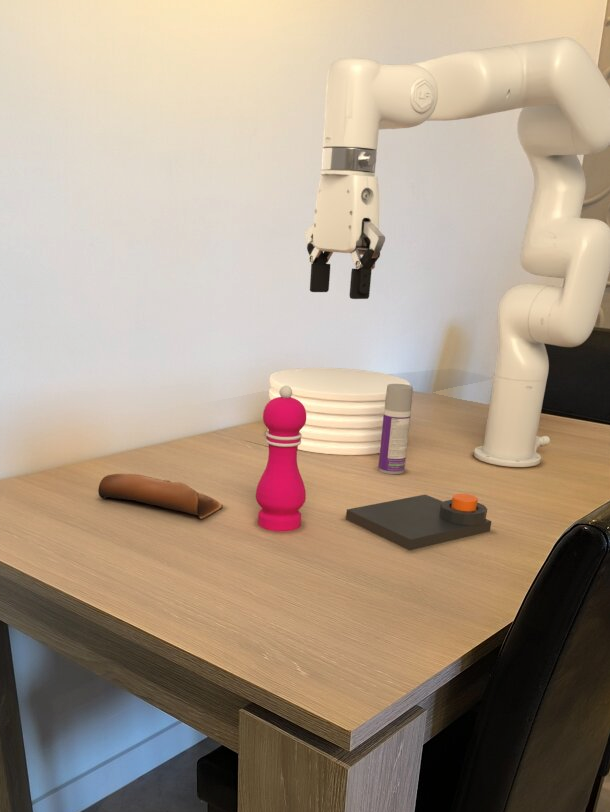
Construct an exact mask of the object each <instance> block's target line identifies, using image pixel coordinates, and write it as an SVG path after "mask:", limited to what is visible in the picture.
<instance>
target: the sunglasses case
mask: <svg viewBox="0 0 610 812" xmlns="http://www.w3.org/2000/svg"><path fill="white" fill-rule="evenodd" d="M97 492H98V496H99V497H100V498H101V499H105V498H110V499H111V498H112V499H119V500H121V499H123V500H126V501H128V500H129V501H136V502H139V503H143V504H147V505H152V506H159V507H161V508H164V509H170V510H175V511H178V512H183V513H187V514H190V515H196V516H197V518H199V519H200V520H203V519H206V518H208V517H211V516H212V515H214V514H215V513H216V512H218V511H220V510H221V509H222V508H223V504H222V503H221V502H219V501H218V500H216V499H215V498H213V497H211V496H209V495H206V494H204V493H201V492H197V491H196V490H195V489H194V488H192V487H190V486H189V485H187V484H186V483H183V482H180V481H171V480H169V479H160V478H156V477H151V476H148V475H144V474H138V473H114V474H113V473H112V474H107V475H105V476H104V477H103V478H102V479H101V480H100V482H99V484H98V490H97Z"/></svg>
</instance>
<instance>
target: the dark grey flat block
mask: <svg viewBox="0 0 610 812" xmlns="http://www.w3.org/2000/svg"><path fill="white" fill-rule="evenodd" d="M451 505H452V499H448V500H444V501H443V500H440V499H438V498H435V497H432V496H431V495H428V494H420V495H415V496H410V497H405V498H400V499H399V498H398V499H394V500H388V501H384V502H378V503H374V504H368V505H367V504H366V505H363V506H358V507H352V508H347V509H346V513H345V521H347V522H349V523H352V524H353V525H356V526H358V527H360V528H362V529H364V530H366V531H369V532H370V533H372V534H374V535H376V536H377V537H381V538H383V539H384V540H387V541H389V542H390V543H392V544H395V545H397V546H399V547H401V548H403V549H405V550H407V551H413V550H418V549H421V548H426V547H432V546H434V545H439V544H442V543H447V542H451V541H455V540H460V539H464V538H468V537H473V536H477V535H482V534H485V533H490V532H491V527H492V520H490V519H487V514H488V508H487V507H486V506H485V504H482V503H480V502H477V508H476V511H460V510H456V509H454V508H451Z"/></svg>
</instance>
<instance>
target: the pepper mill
mask: <svg viewBox="0 0 610 812" xmlns="http://www.w3.org/2000/svg"><path fill="white" fill-rule="evenodd" d="M279 394H280V396H281V397H277V398H274V399H272V400H271V399H270V400H271V401H270V400H269V401H268V402H267V403H266V405H265V406H264V408H263V413H262V421H263V424H264V426H265V427H266V428H267V431H266V432H265V436H266V438H265V442H266V444H267V445H268V457H267V462H266V466H265V468H264V471H263V473H262V475H261V477H260V479H259V481H258V483H257V486H256V490H255V500H256V503H257V505H258V506H259V508H261V509H260V510H259V511H258V515H257V524H258V526H259V527H260V528H262V529H265V530H268V531H272V532H291V531H295V530H298V529H299V528H300V527H301V525H302V513H301V511H299V510H300V509H301V508H302V507H304V504H305V503H306V500H307V495H306V492H307V491H306V487H305V483H304V480H303V478H302V475H301V473H300V469H299V466H298V445H300V444H301V437H302V434H301V433H300V432H299V431H300V430H301V429H302V428H303V426H304V425H305V423H306V410H305V408H304V406H303V404H302V403H301V402H300V401H298V400H297V399H295V398H291V396H292V389H291V388H290V387H289V386H283V387H281V389H280V391H279ZM268 430H269V431H268Z"/></svg>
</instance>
